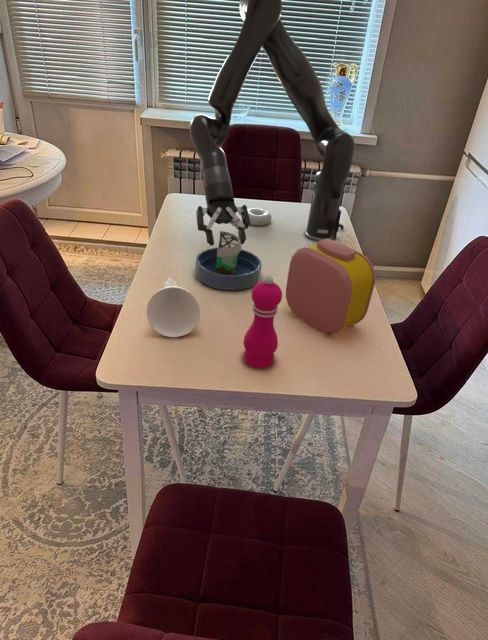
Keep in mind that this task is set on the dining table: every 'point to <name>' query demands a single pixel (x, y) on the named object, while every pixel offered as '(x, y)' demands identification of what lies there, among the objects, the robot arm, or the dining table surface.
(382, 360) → the dining table surface
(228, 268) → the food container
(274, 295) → the pepper mill
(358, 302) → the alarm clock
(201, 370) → the dining table surface
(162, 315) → the rocket engine
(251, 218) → the donut
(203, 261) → the bowl
